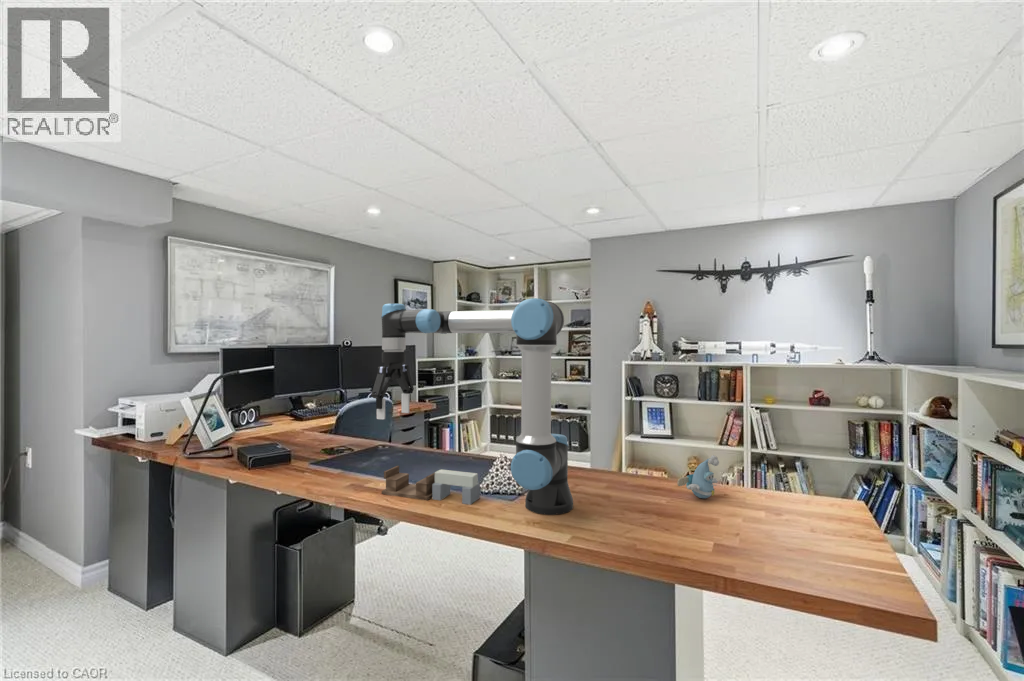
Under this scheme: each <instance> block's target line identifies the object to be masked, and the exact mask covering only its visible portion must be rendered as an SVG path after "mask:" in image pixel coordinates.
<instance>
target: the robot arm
mask: <svg viewBox="0 0 1024 681" xmlns="http://www.w3.org/2000/svg"><path fill="white" fill-rule="evenodd" d="M381 310H382V312H381V318H380V319H381V330H382V331H381V333H382V334H381V350H382V352H381V363H383V364H384V366H378V367H377V372H376V373H377V374H376V378H375V381H374V384H373V387H372V390H371V394H370V395H371V397H372V398H373V399H375V404H376V405H375V408H376V420H386V398H384V397H385V395H386V392H388V390H389V388H390V385H391V382H393V381H395V380H396V382H397V384H398V385H399V387H400V389H401V392H402V393H401V398H400V399H401V402H400V403H401V413H402V414H409V413H410V403H411V402H410V401H411V400H410V398H411V395H410V394H413V392H414V390H415V389H414V384H413V382H412V379H411V374H410V372H409V371H410V369H409V368H410V367H409V364H404V363H406V352H405V351H406V348H407V347H406V346H407V345H406V344H407V343H406V335H407V334H409V333H410V334H412V333H413V334H440V335H441V334H442V335H443V334H445V335H446V334H515V335H516V342H515V343H516V347H518V349H519V350H520V351H521V397H520V398H521V407H520V408H521V413H520V414H521V417H520V419H521V421H520V422H521V424H520V425H521V426H520V429H521V430H520V432H521V433H520V434H519V435H518V436H517V437H516V439H515V455H514V456H513V457H512V460H511V461H510V462H511V463H510V472H511V476H512V477H513V479H514V481H515V482H516V483H517V484H518V485H519V486H520V487H522V488H523V489H525V490H527V492H526V496H525V498H524V500H525V504H524V505H525V508H526V509H527V510H528V511H530V512H532V513H535V514H538V515H539V514H540V515H550V516H555V515H562V514H563V515H564V514H566V513H569V512H571V511H572V510H573V509H574V498H573V495H572V492H571V489H570V487H569V486H570V484H569V483H568V480H569V478H568V477H569V474H568V473H569V472H568V471H569V470H568V464H569V462H568V461H569V460H568V458H569V457H568V455H569V453H568V452H569V451H568V450H569V443H568V437H567V436H566V435H564V434H559V433H552V351H553V350H554V349H555V348H556V347H557V344H558V343H557V338H558V337H557V336H558V335H559V333H561V331H562V330H563V328H564V326H565V325H564V324H565V316H564V312H563V310H562V309H561V308H560V306H558V305H557V304H556V303H554V302H552V301H548V300H545V299H542V298H536V297H535V298H527V299H524V300H522V301H521V302H520V303H518V304H517V305H516V306H515V308H514V309H495V310H494V309H490V310H484V309H483V310H458V311H457V310H456V311H455V310H453V311H452V310H448V311H439V310H438V311H437V310H436V309H432V308H423V309H407V308H406V305H405V304H403V303H385V304H383V305H382V307H381Z"/></svg>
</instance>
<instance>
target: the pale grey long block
mask: <svg viewBox="0 0 1024 681" xmlns="http://www.w3.org/2000/svg"><path fill="white" fill-rule="evenodd" d="M436 471H437V472H436ZM436 471H435V483H439V484H447V485H450V486H455V487H456V486H457V487H462V488H463V487H471V488H473V487H474V486H476V485H477V484H478V483H479V474H478V473H476V472H467V471H461V470H460V471H459V470H450V469H449V470H448V469H439V470H436Z"/></svg>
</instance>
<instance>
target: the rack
mask: <svg viewBox="0 0 1024 681" xmlns="http://www.w3.org/2000/svg"><path fill="white" fill-rule="evenodd" d="M437 471H438V470H436V471H435V472H437ZM435 472H433V473H431V474H429V475H427V476H426V477H424V478H423V479H419V481H416V482H415V484H411V483H410V474H409V473H407V472H400V465H396V466H394V467H391V468H389V469H387V470H384V471H383V479H384V480H385V489H383V490H381V494H382V495H387V496H395V497H400V498H402V497H403V498H407V499H415V500H421V501H422V500H423V501H429V500H430V499H432V484H434V483H435Z"/></svg>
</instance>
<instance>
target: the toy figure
mask: <svg viewBox="0 0 1024 681" xmlns="http://www.w3.org/2000/svg"><path fill="white" fill-rule="evenodd" d="M709 464H710V465H712V466H714V467H718V466H719V464H720V461H719V458H718V457H717V456H716V455H714V454H713V455H711V456H710V458H707V459H705V460H704V461H703V462H701V463H699V464H698V465H697V466H696V469H695V470H694V472H693V474H692V473H691V474H687V475H686V476H681V477H680V478H678V479H677V481H676V482H677V486H678V487H682V486H686V488H687V490H691V492H692V493H693V495H694V496H696V497H697V498H699V499H708V498H710V497H712V496H713V497H714V495H715V487H716V486H717V485H716V484H717V483H718V479H717V478H716V477H714V474H715V473H714V472H713V471H710V466H709ZM714 486H715V487H714Z"/></svg>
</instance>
